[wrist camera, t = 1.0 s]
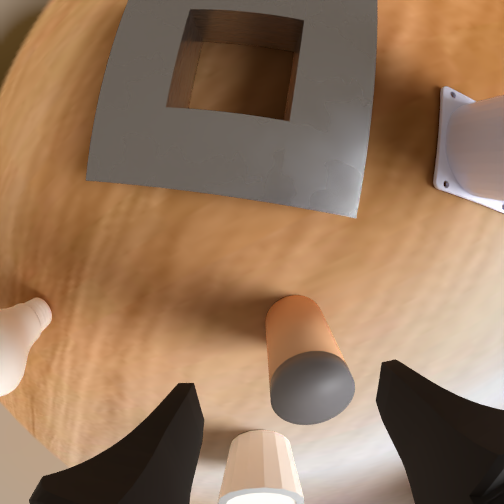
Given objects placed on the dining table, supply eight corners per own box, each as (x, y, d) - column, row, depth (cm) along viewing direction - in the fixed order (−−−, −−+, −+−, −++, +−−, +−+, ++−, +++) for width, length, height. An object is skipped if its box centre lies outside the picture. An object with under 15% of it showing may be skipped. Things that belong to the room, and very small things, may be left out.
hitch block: (355, 21, 15) (377, -9, 11) (333, 209, 18) (356, 218, 14) (161, -1, 15) (142, -33, 10) (120, 179, 18) (85, 180, 14)
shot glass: (304, 457, 24) (313, 513, 17) (239, 471, 25) (236, 525, 18) (285, 417, 23) (293, 481, 16) (211, 433, 23) (202, 494, 16)
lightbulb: (47, 347, 21) (-23, 417, 11) (12, 290, 20) (-71, 341, 9) (86, 327, 21) (6, 410, 10) (47, 260, 19) (-54, 314, 9)
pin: (328, 299, 20) (366, 364, 12) (314, 348, 21) (340, 425, 13) (270, 291, 20) (280, 359, 12) (261, 342, 21) (263, 422, 13)
